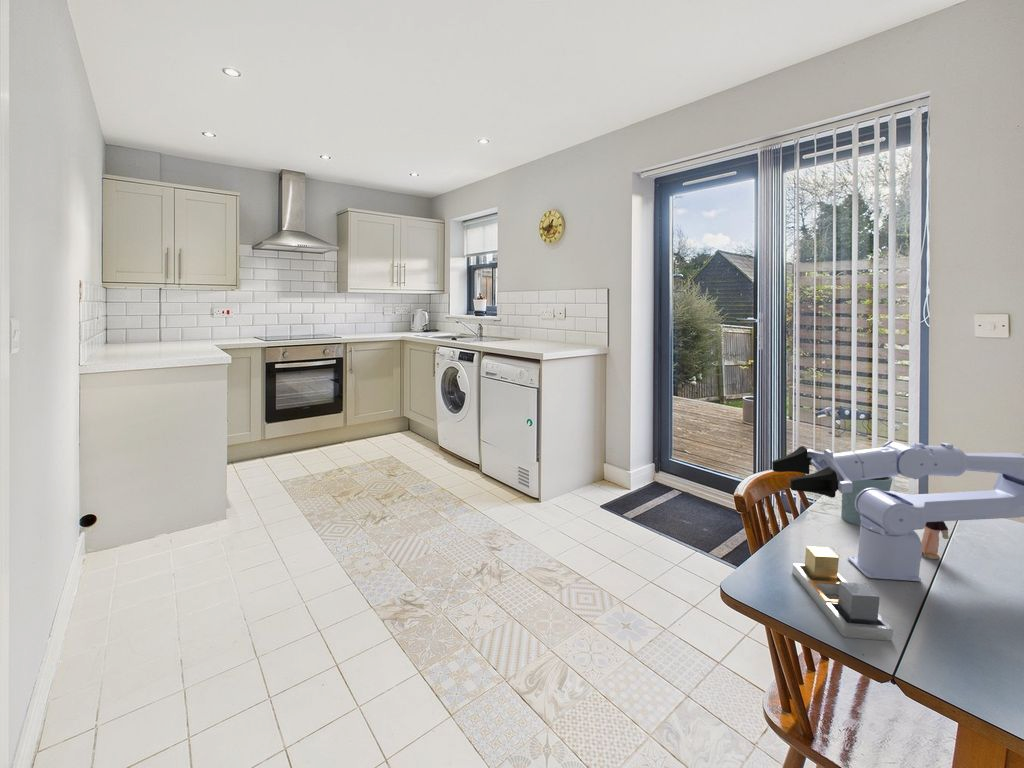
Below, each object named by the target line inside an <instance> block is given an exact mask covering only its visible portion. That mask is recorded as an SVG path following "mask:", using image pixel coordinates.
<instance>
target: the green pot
mask: <svg viewBox="0 0 1024 768" xmlns="http://www.w3.org/2000/svg"><path fill="white" fill-rule="evenodd" d="M851 482H852V483H853V485H852V492H849V493H841V511H840V512H841V514H840V515H841V518H842V519H843V520H844V521H845V522H848V523H850V524H853V525H855V526H860V527H861V520H860V515H861V514H860V513H859V512H858V511H857V510H856V508H855V498H856V496H857V495H858V493H859V492H861V491H862V490H864V489H866V488H877V489H880V490H882V491H891V487H892V484H893V476H889V477H882V478H874V479H866V480H859V481H851Z"/></svg>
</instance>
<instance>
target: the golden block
mask: <svg viewBox="0 0 1024 768" xmlns="http://www.w3.org/2000/svg"><path fill="white" fill-rule="evenodd" d="M839 559H840V558H839V556H838V555H837V553H835V552H834V551H833V550H832V549H831V548H829V547H828V546H826V547H824V546H809V545H807V546H805V556H804V564H805V567H804V572H805V574H806V575H807V576H808V577H809V578H810V580H815V581H830V582H837V573H839V570H838V569H839V561H840V560H839Z"/></svg>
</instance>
